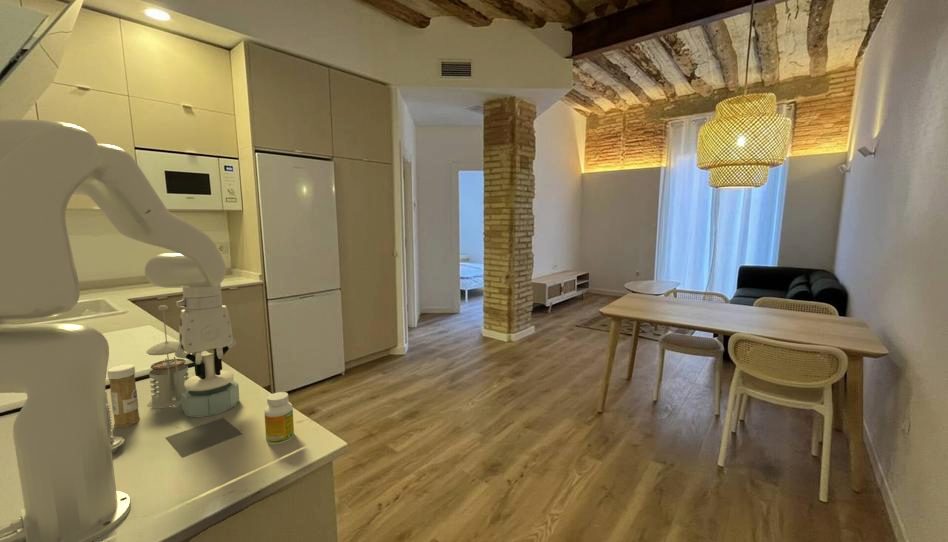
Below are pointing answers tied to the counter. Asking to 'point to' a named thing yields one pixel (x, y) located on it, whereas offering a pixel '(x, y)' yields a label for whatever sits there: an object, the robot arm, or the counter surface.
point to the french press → (167, 374)
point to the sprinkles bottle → (123, 395)
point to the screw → (115, 440)
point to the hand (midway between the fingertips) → (209, 375)
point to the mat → (202, 436)
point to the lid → (208, 376)
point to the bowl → (210, 400)
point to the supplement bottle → (279, 419)
